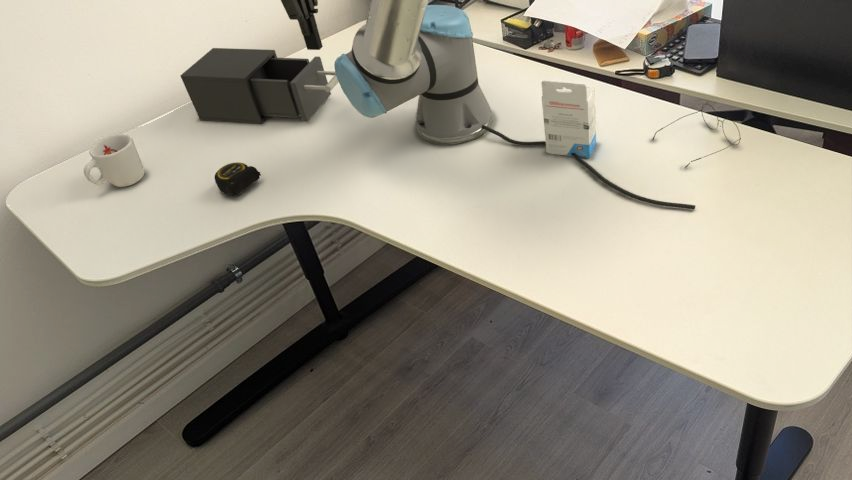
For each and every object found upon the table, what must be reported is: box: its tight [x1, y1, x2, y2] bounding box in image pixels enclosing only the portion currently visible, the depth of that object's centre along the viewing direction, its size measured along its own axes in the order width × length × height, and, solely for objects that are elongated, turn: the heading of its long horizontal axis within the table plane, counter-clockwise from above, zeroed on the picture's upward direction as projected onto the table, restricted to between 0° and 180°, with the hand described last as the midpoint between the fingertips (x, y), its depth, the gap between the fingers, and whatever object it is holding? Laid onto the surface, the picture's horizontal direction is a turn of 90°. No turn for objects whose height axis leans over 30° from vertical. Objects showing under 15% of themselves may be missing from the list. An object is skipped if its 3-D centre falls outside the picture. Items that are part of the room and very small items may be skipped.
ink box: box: [541, 80, 597, 159], centre depth 129 cm, size 9×5×15 cm, turn 68°
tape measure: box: [214, 161, 262, 197], centre depth 136 cm, size 7×7×4 cm
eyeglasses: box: [651, 103, 742, 169], centre depth 129 cm, size 11×13×5 cm
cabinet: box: [180, 47, 278, 125], centre depth 157 cm, size 16×13×11 cm
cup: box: [83, 133, 145, 188], centre depth 140 cm, size 11×8×8 cm
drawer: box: [248, 55, 339, 123], centre depth 153 cm, size 21×11×9 cm, turn 74°
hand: (315, 48), depth 144 cm, fingers closed
